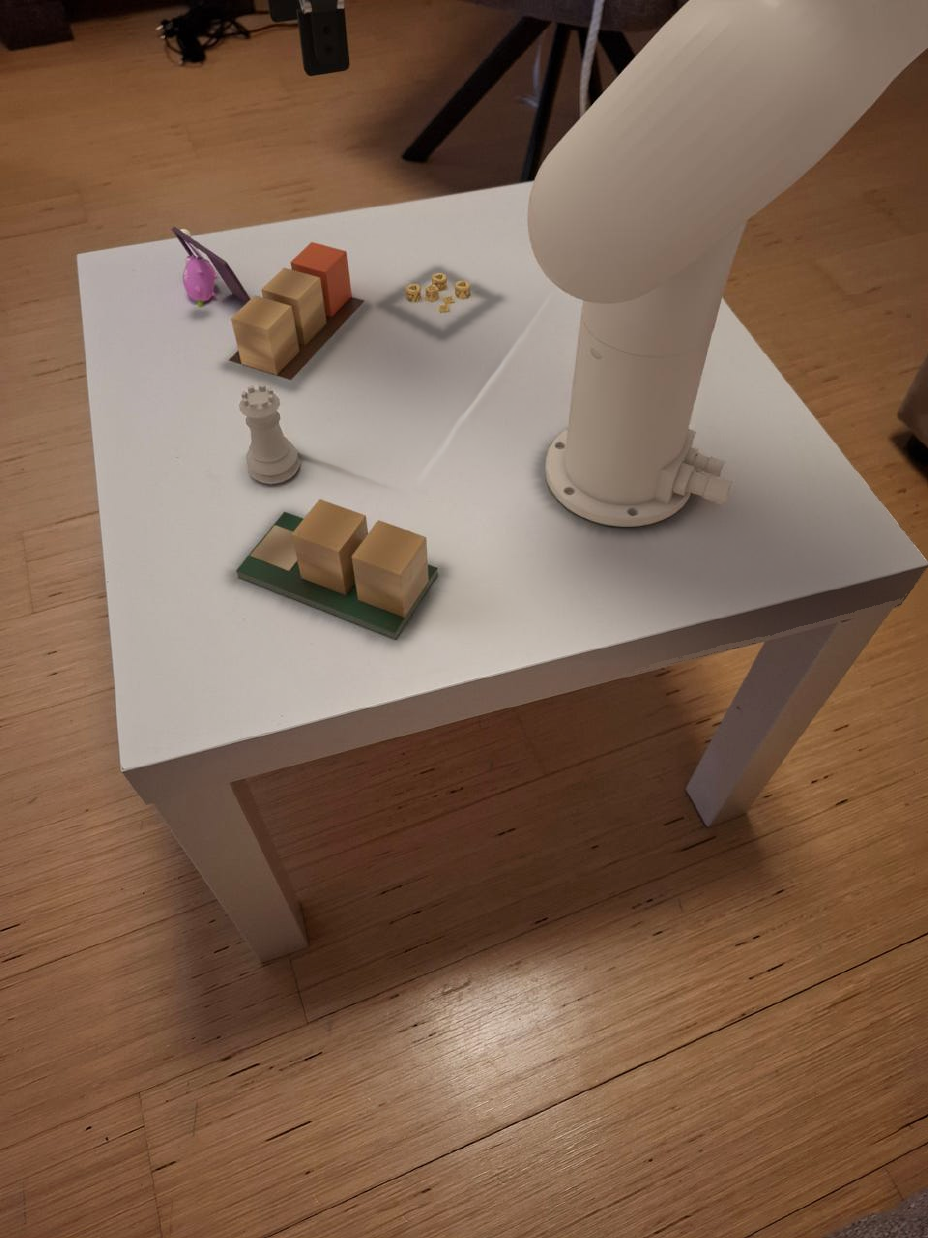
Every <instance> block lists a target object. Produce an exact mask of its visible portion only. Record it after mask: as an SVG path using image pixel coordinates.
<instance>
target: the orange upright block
mask: <svg viewBox="0 0 928 1238" xmlns="http://www.w3.org/2000/svg"><path fill="white" fill-rule="evenodd" d="M289 264H290V269H291V270H295V271H298V272H302V273H305V274H309V275H312V276H316V277H319V278H320V281H321V288H322V295H323V301H324V308H325V315H326V316H329V317H333V316H334V315H335V314H336V313H337V311H338V310H339V309H340V308H341V307H342V306H343V305H344V304H345V303H346V302H347V301H348V300H349V299H350V298H351V297H353V295H352V288H351V287H352V286H351V277H350V271H349V268H350V267H349V260H348V252H347V250H343V249H339V248H336V247H334V246H333V247H332V246H329V245H325V244H321V243H318V242H314V241H311V242H310V243H308V245H307V246H305V247H304V249H302V250H301V251H300V252H299V253H298V254H297V255H296V256H295V257H294V258H293V259H292V260H290V263H289Z"/></svg>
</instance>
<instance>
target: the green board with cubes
mask: <svg viewBox="0 0 928 1238" xmlns="http://www.w3.org/2000/svg"><path fill="white" fill-rule="evenodd" d="M367 520H368V519H367V515H365V514H363V513H360V512H359V511H354V510H352V509H349V508H347V507H343V506H341V505H338V504H335V503H333V502H329V501H327V500H324V499H322V498H319V499H318V500H317V502H316V503H315V504H314V506H313V507H312V508H311V509H310V510H309V512H308V513H307V514H306V515H305V517H304V518H303V517H301V516H297V515H295V514H292V513H289V512H287V511H284V512H283V513H282V514H281V515H280V516H279V518H278V519H277V520H276V521H275V523H274V524H273V525H272V526H271V527H270V529H269V530H268V531H267V532H266V533H265V534H264V536H263V537H262V538H261V540H260V541H258V543H257V544H256V546H255V547H254V548H253V549H252V550H251V551H250V553H249V554H248V555H247V556H246V558H245V559H244V560H243V562H242V563H240V565H239V566H238V567H237V569H236V570H235V573H236V575H237V577H238V578H240V579H242V580H245V581H248V582H250V583H252V584H254V585H257V586H259V587H262V588H265V589H268V590H270V591H273V592H275V593H278V594H280V595H283V596H285V597H288V598H290V599H293V600H296V601H298V602H300V603H303V604H305V605H308V606H310V607H313V608H315V609H318V610H321V611H323V612H326V613H328V614H331V615H333V616H336V617H338V618H341V619H343V620H346V621H348V622H351V623H353V624H356V625H359V626H361V627H363V628H366V629H368V630H371V631H374V632H376V633H378V634H381V635H384V636H387V637H388V638H391V639H395V640H396V639H397V638H398V637H399V635H400V633H401V632H402V630H403V629H404V627H405V626H406V624H408V623H407V622H408V621H409V619H410V618H411V616H412V615H413V613H414V612H415V610H416V609H417V608H418V606H419V604H420V602H421V601H422V599H423V598H424V597H425V595H426V593H427V592H428V591H429V588H430V587H431V585H432V584H433V583H434V581H435V579H436V578H437V576H438V575H439V571H438V567H437V566H434V565H432V564H429V559H428V542H427V537H426V536H424V535H421V534H419V533H416V532H413V531H410V530H407V529H405V528H402V527H399V526H396V525H394V524H391V523H388V522H385V521H382V520H379V519H378V520H377V521H376V522H375V524H374V525H373V527H372V528H371V529H370V530H369V529H368V528H369V527H368V521H367Z"/></svg>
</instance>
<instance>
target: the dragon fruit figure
mask: <svg viewBox="0 0 928 1238" xmlns="http://www.w3.org/2000/svg"><path fill="white" fill-rule="evenodd" d="M170 229H171V231H172V232H173V234H174V235H175V237H176V239H177V240H178V241H179V243H180V244H181V246H182V247H183V249H184V250H185V251H186V253H187V254H188V255H187V256H186V259H185V258H184V262H185V267H184V269H183V273H182V283H183V287H184V290H185V292H186V293H187V295H188V296H189V297H190V298H191V299H193V300H195V301H196V302H197V304H196V306H197V308H200V309H201V308H202V307H203V306H204V303H205V302H208V301H209V300H210V299H211V298H212V297H215V298H216V296H217V295H216V293H215V292H214V289H215V281H216V279H219V276H220V278H221V280H222V281H223V282H224V284H225V285H226V287H227V288H228V289H229V291H230V292H231V293H232V295H233V296H234V297H236V298H238V299H239V300H241V301H242V302H244V303H245V304H246V303H247V302H249V301H250V300H251V299H252V298H251V297H250V296H249V294H248V292H247V291H246V289H245V288H244V286H243V285H242V283H241V281H240V280H239V278H238V277H237V276H236V274H235V272H234V270H233V269H232V267H231V266H230V264H229V263H228V262H227V261H226V260H225V259H223V258H222V257H220V256H219V255H217V254H216V253H214V251H213V252H212V251H211V250H210V249H209V248H207V247H205V246H204V245H202V244H201V243H200V242H199V241H197V240H195V239H194V238H193V237H192V233H191V232H190V231H189V229H186V228H181V229H179V228H177V227H176V226H173V227H172V228H170ZM191 249H192V250H191ZM200 251H201V252H200ZM194 253H195V254H194ZM201 253H203V254H205V255H206V257H207V258H208V259H209V260H208V259H206V258H204V257H203V255H202V254H201ZM187 259H188V260H187ZM189 259H190V260H189ZM216 272H217V273H218V274H219V276H218V275H217V274H216Z"/></svg>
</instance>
